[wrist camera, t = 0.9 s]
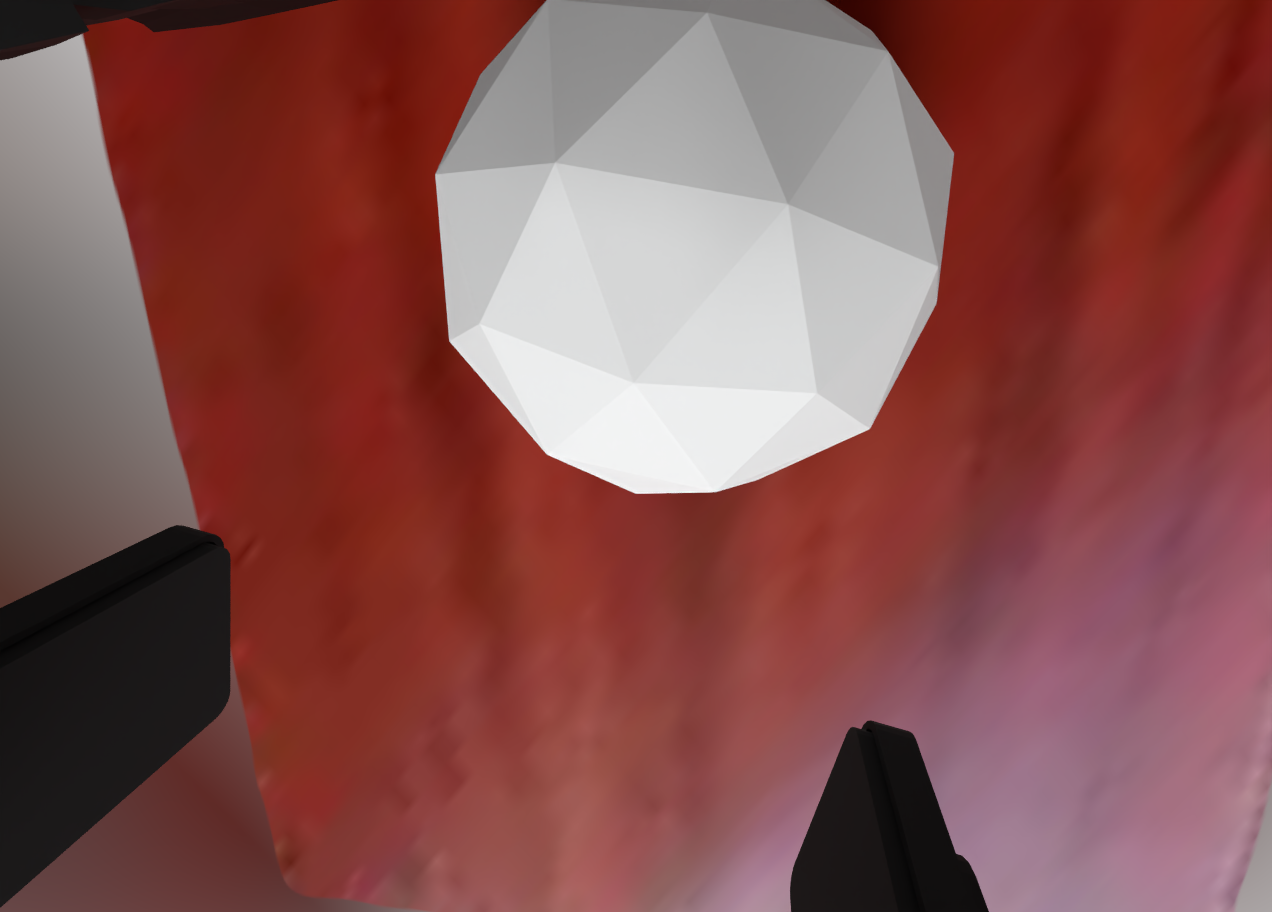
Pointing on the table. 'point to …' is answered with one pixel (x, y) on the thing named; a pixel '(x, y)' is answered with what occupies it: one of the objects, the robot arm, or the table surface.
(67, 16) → the decorative tree
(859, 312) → the geometric sculpture
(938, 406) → the table surface
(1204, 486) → the table surface
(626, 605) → the table surface
